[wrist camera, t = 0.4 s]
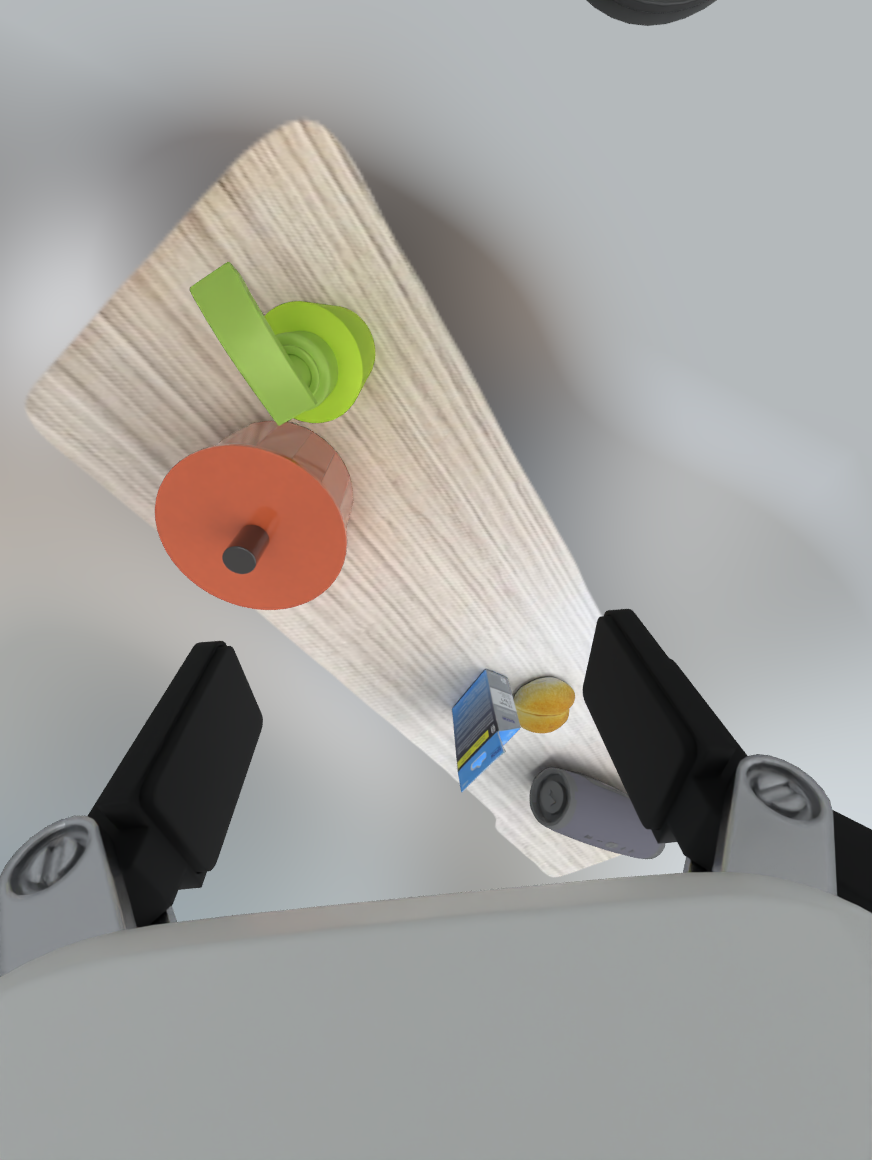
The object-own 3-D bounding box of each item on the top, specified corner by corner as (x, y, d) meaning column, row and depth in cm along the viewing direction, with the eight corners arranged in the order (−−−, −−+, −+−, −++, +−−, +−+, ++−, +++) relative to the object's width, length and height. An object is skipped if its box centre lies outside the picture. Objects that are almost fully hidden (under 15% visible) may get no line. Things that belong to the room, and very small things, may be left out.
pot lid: (130, 445, 28) (86, 466, 24) (333, 437, 28) (323, 456, 25) (198, 607, 35) (173, 643, 31) (358, 597, 36) (353, 631, 32)
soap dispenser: (342, 275, 31) (271, 226, 14) (388, 368, 34) (375, 418, 17) (277, 316, 32) (138, 316, 15) (328, 402, 35) (262, 480, 19)
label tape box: (473, 716, 59) (488, 800, 49) (449, 708, 58) (459, 793, 47) (508, 676, 55) (532, 759, 45) (483, 666, 54) (502, 750, 44)
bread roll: (576, 674, 56) (588, 697, 53) (559, 718, 61) (568, 741, 57) (518, 673, 55) (525, 696, 52) (505, 717, 60) (511, 741, 56)
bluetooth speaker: (519, 778, 68) (536, 842, 60) (558, 748, 65) (582, 812, 56) (609, 812, 77) (635, 873, 68) (649, 787, 73) (681, 848, 64)
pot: (195, 423, 35) (136, 454, 28) (342, 417, 36) (326, 447, 28) (237, 551, 42) (199, 606, 34) (360, 544, 43) (351, 597, 35)
